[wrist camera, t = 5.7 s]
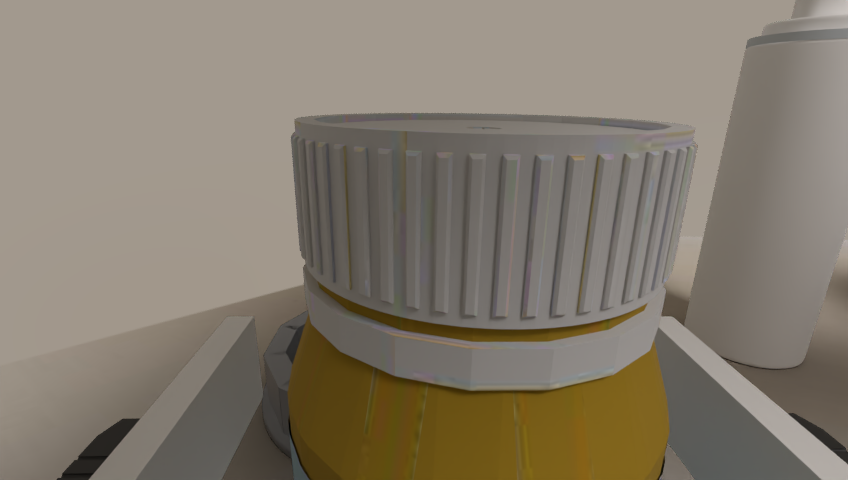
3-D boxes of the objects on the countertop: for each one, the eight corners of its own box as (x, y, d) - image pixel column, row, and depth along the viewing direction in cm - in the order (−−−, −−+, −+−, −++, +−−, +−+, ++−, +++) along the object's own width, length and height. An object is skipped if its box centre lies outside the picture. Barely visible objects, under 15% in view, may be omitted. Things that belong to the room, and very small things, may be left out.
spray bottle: (677, 310, 34) (758, -69, 26) (783, 328, 31) (907, -85, 24) (691, 355, 28) (801, -119, 20) (822, 380, 25) (1005, -146, 18)
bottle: (292, 630, 13) (232, 112, 9) (482, 528, 16) (513, 112, 12) (387, 1055, 7) (358, 153, 3) (652, 768, 11) (846, 130, 6)
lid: (472, 333, 30) (474, 291, 29) (509, 477, 19) (514, 417, 18) (296, 333, 30) (292, 291, 29) (223, 480, 18) (213, 419, 17)
